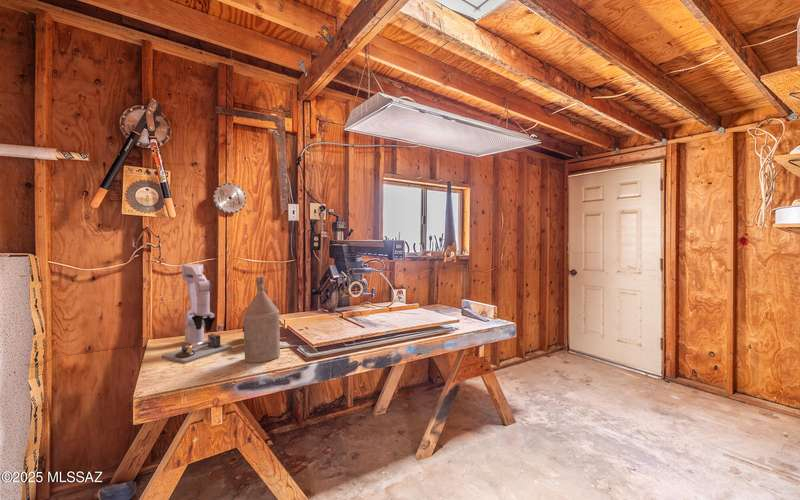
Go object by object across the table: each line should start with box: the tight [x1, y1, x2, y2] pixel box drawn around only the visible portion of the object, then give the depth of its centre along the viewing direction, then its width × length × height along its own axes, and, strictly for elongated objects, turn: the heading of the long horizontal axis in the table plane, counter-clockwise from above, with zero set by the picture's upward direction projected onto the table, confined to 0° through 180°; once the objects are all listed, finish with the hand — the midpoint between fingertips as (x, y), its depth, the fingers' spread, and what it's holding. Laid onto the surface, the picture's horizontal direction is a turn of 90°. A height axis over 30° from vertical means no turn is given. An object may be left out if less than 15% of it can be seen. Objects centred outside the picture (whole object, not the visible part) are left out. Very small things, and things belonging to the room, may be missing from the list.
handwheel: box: [175, 345, 195, 357], centre depth 161 cm, size 8×9×5 cm
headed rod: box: [181, 339, 211, 352], centre depth 166 cm, size 3×14×3 cm, turn 155°
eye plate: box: [205, 333, 224, 349], centre depth 174 cm, size 9×4×6 cm, turn 65°
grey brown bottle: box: [242, 275, 282, 364], centre depth 160 cm, size 13×17×40 cm
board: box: [161, 343, 232, 364], centre depth 168 cm, size 18×24×1 cm
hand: (203, 330), depth 173 cm, fingers open, 7 cm apart
